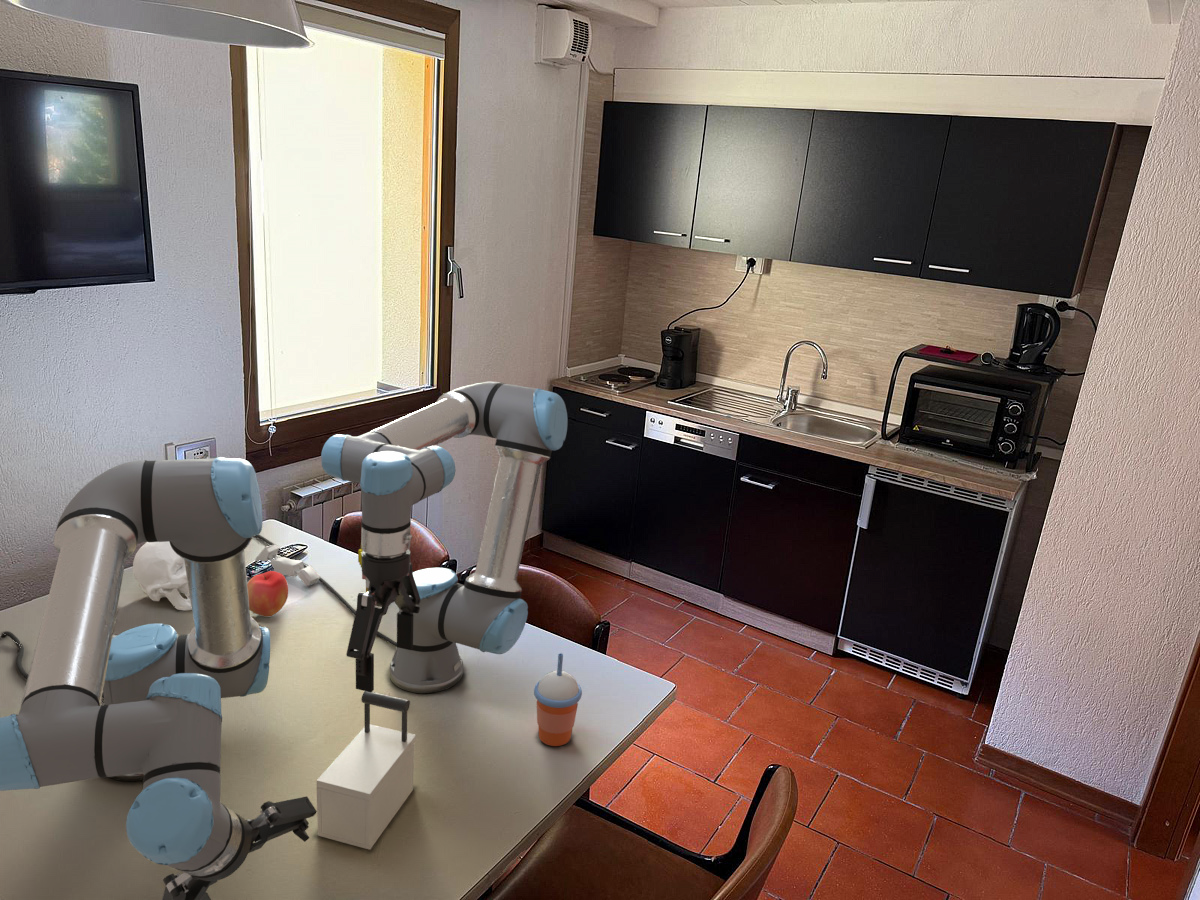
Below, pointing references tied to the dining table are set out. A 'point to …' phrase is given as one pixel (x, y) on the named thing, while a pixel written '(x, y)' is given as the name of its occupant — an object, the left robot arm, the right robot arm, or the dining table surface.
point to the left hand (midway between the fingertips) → (256, 866)
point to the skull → (162, 574)
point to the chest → (364, 808)
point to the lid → (370, 752)
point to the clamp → (288, 565)
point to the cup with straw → (557, 705)
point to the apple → (267, 593)
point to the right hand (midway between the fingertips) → (385, 667)
